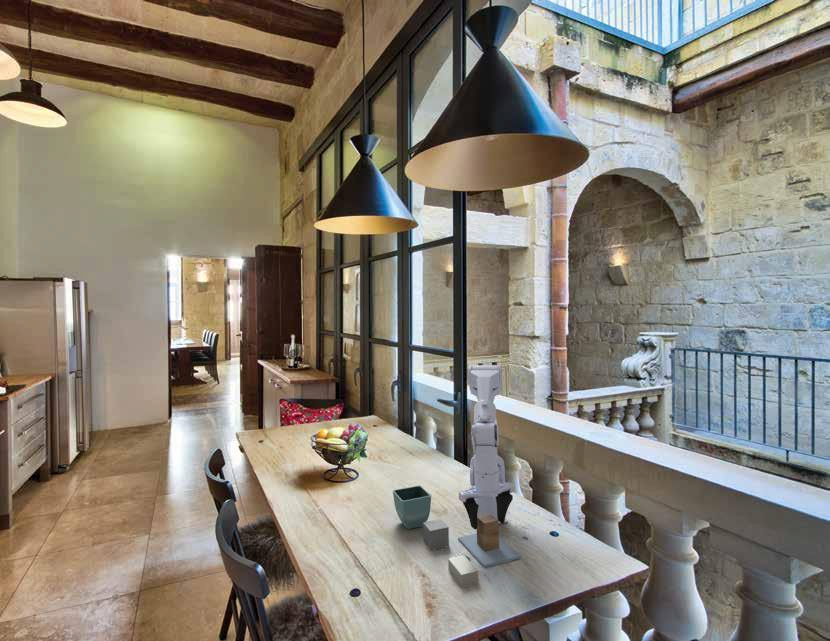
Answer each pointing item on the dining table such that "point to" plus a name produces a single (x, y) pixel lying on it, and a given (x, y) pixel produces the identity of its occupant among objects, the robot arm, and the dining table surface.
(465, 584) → the pale grey block
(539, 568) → the dining table surface
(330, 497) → the dining table surface
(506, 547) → the slate mat
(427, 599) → the dining table surface
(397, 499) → the flower pot
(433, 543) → the grey cube
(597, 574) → the dining table surface
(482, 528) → the tall walnut block
